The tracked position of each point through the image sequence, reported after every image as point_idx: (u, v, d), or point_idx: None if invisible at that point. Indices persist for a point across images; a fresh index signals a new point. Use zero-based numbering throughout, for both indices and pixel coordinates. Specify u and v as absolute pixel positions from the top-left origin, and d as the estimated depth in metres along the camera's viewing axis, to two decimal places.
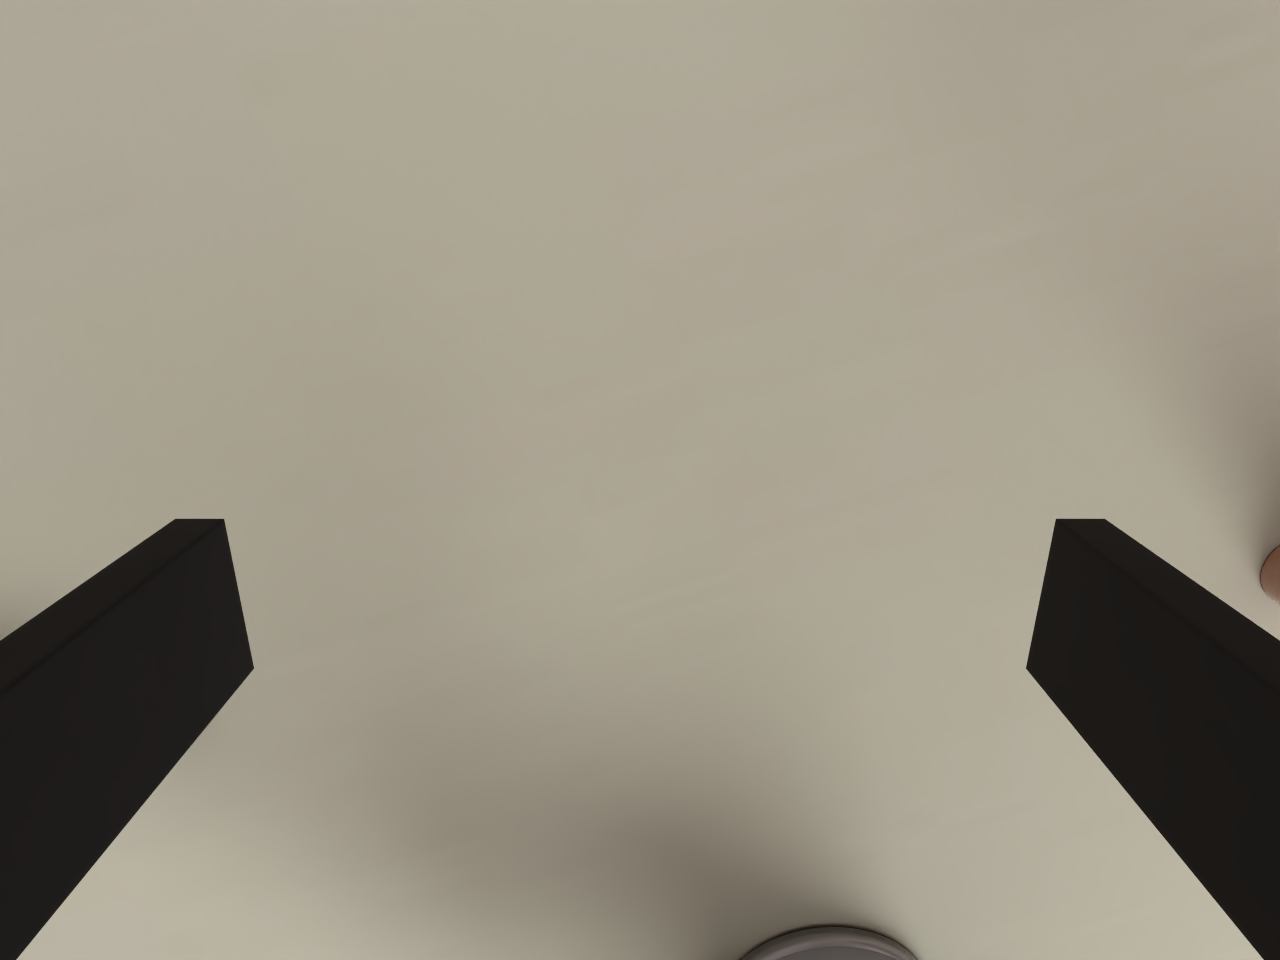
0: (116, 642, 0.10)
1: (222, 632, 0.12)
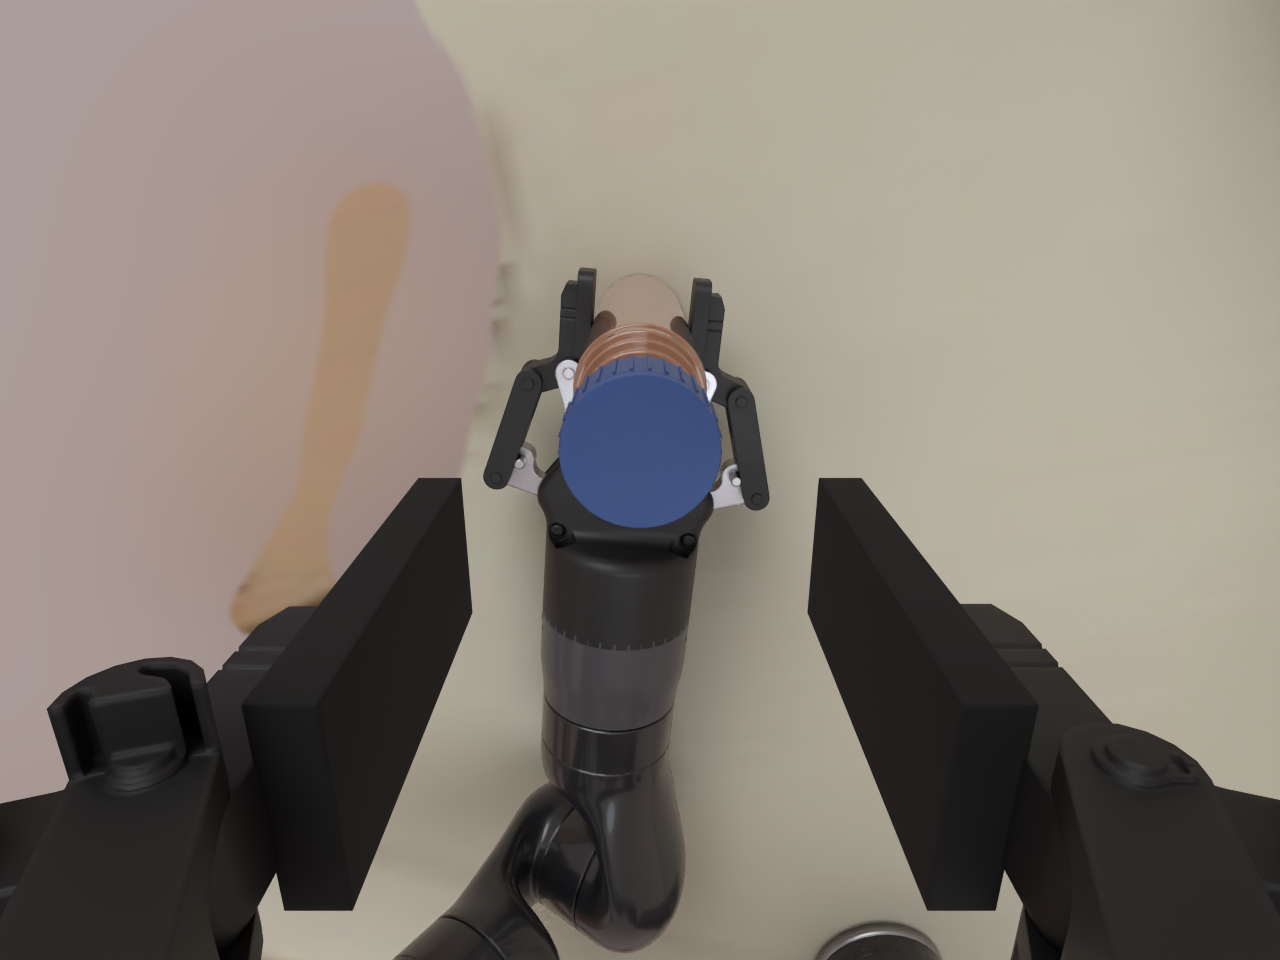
0: (421, 574, 0.11)
1: (460, 577, 0.14)
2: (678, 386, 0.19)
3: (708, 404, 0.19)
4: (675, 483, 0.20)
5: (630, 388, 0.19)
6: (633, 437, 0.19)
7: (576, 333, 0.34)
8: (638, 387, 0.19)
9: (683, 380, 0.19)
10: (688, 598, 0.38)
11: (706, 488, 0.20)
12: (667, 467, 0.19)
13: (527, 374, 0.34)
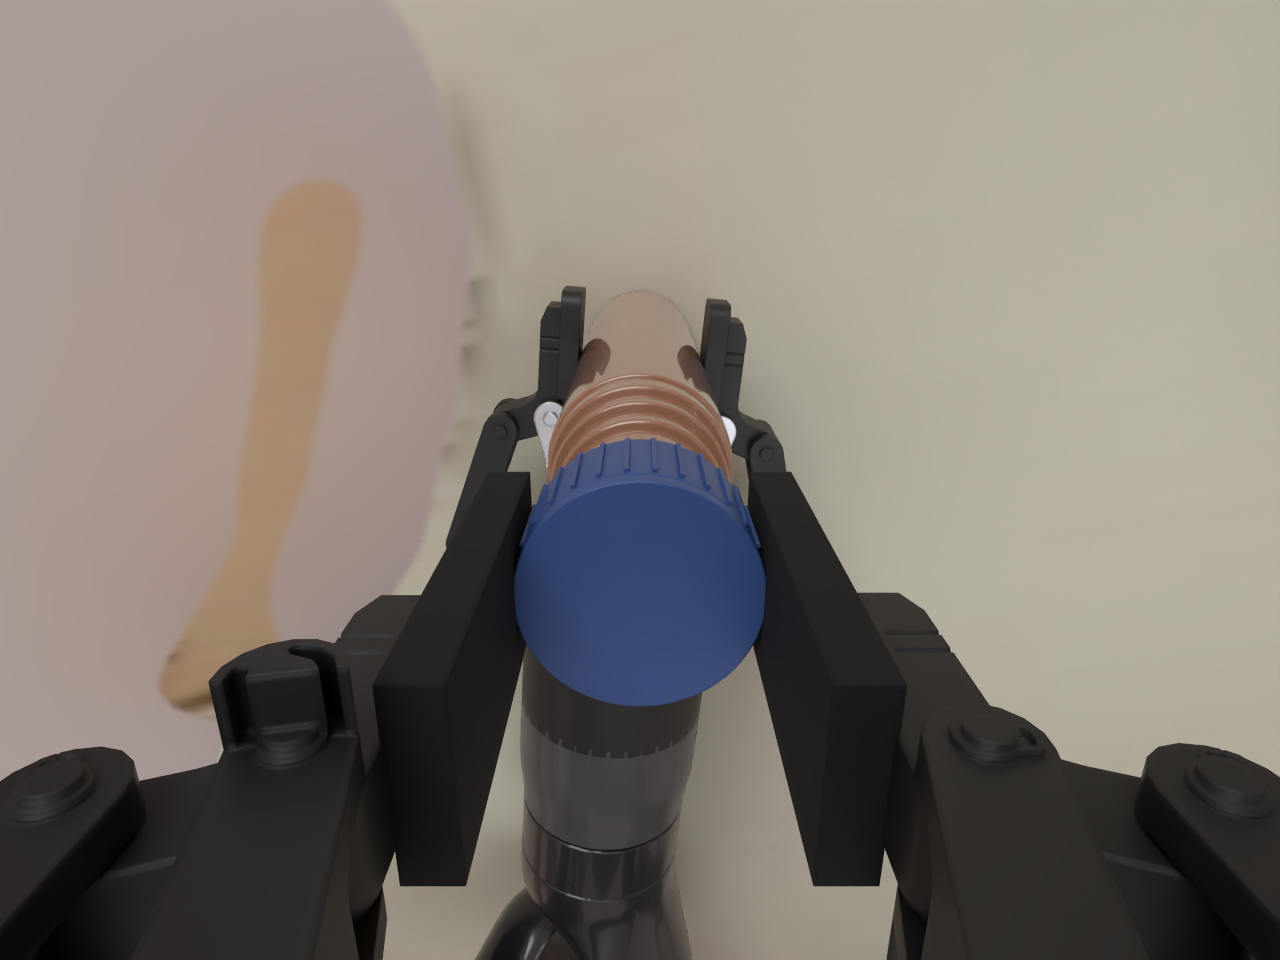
0: (506, 564, 0.12)
1: None
2: (701, 499, 0.12)
3: (746, 522, 0.12)
4: (694, 643, 0.13)
5: (624, 503, 0.12)
6: (629, 576, 0.12)
7: (560, 369, 0.27)
8: (637, 501, 0.12)
9: (708, 486, 0.12)
10: None
11: (742, 649, 0.13)
12: (682, 620, 0.12)
13: (498, 419, 0.27)
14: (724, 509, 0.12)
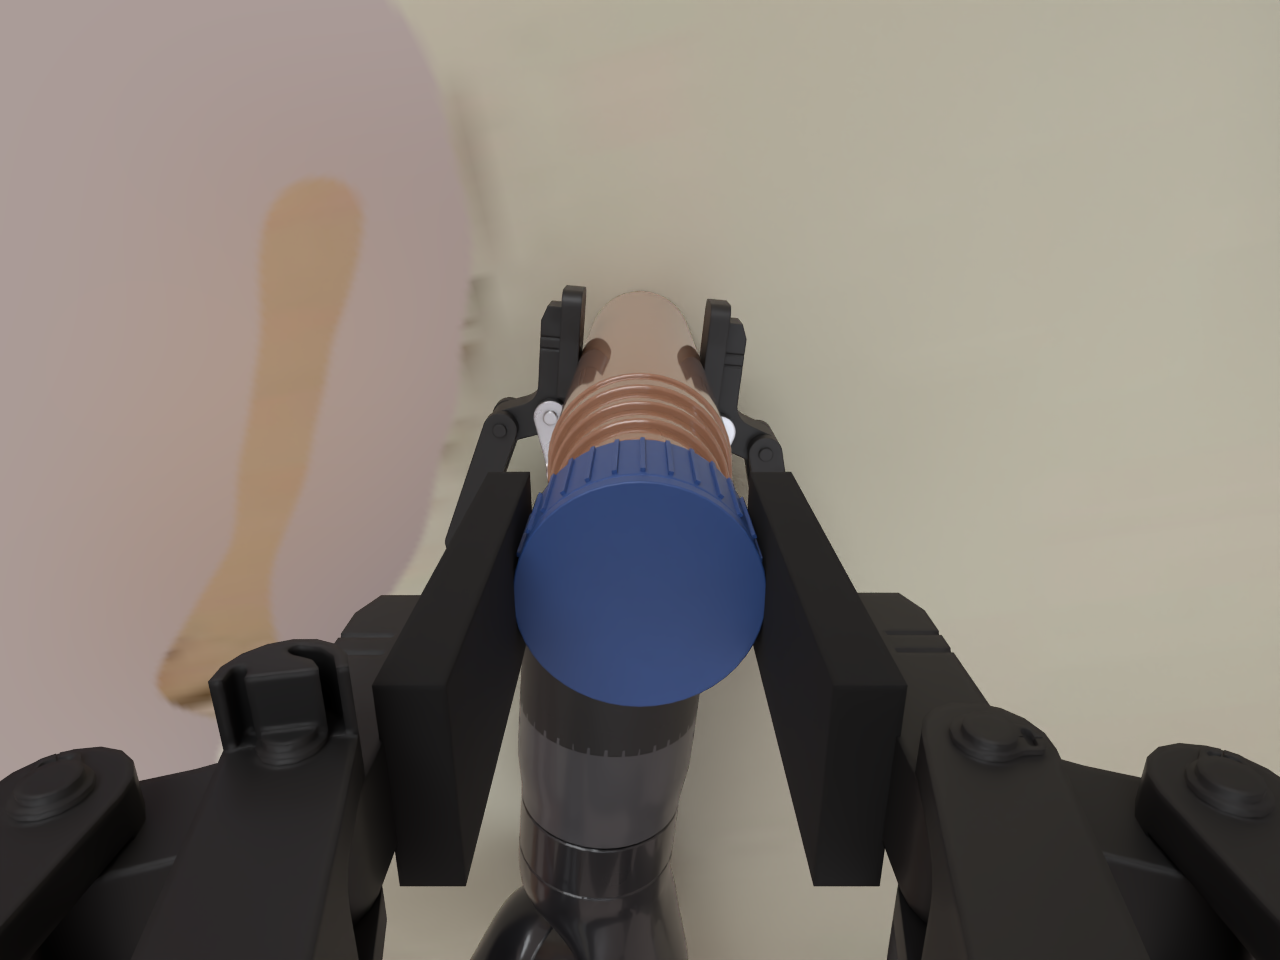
0: (506, 564, 0.12)
1: None
2: (541, 529, 0.12)
3: (586, 479, 0.12)
4: (698, 559, 0.12)
5: (533, 596, 0.12)
6: (611, 605, 0.12)
7: (560, 368, 0.27)
8: (533, 585, 0.12)
9: (542, 509, 0.12)
10: None
11: (718, 513, 0.12)
12: (669, 566, 0.12)
13: (498, 418, 0.28)
14: (555, 509, 0.12)
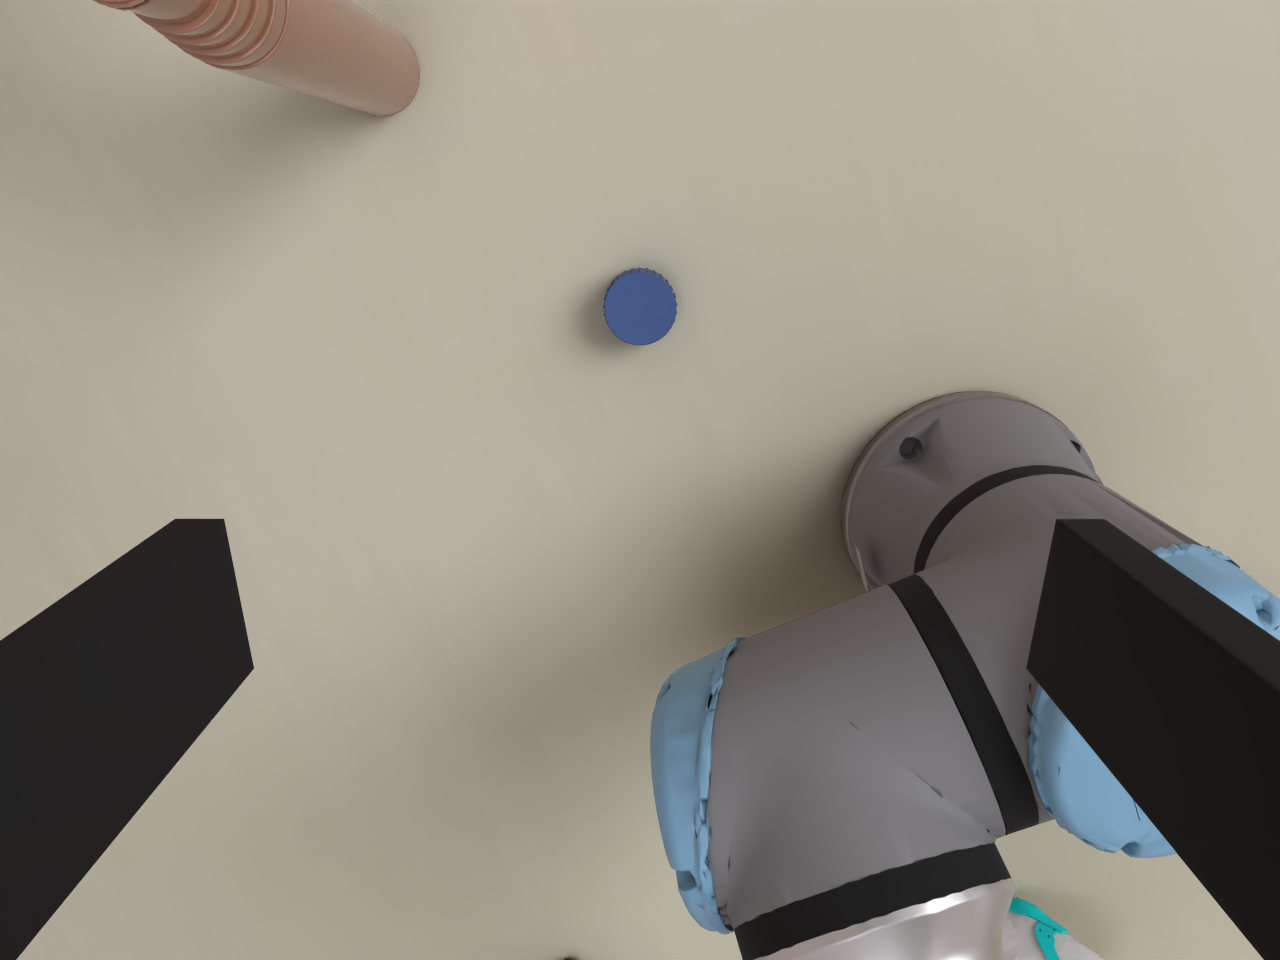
0: (117, 642, 0.10)
1: (223, 632, 0.12)
2: (673, 297, 0.43)
3: (676, 312, 0.44)
4: (642, 330, 0.44)
5: (657, 283, 0.43)
6: (643, 301, 0.43)
7: None
8: (660, 285, 0.43)
9: (675, 297, 0.44)
10: None
11: (651, 341, 0.44)
12: (645, 322, 0.44)
13: None
14: (675, 303, 0.43)
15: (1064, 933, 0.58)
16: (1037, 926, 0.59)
